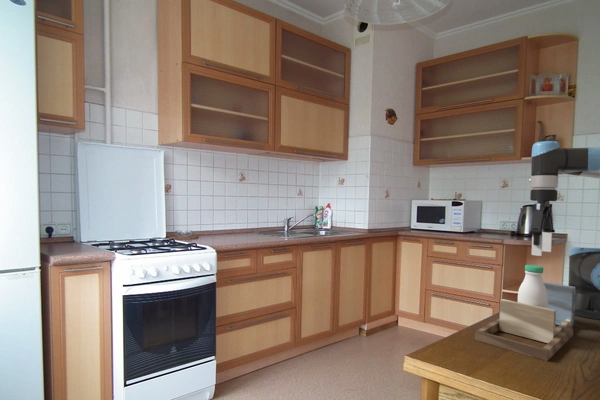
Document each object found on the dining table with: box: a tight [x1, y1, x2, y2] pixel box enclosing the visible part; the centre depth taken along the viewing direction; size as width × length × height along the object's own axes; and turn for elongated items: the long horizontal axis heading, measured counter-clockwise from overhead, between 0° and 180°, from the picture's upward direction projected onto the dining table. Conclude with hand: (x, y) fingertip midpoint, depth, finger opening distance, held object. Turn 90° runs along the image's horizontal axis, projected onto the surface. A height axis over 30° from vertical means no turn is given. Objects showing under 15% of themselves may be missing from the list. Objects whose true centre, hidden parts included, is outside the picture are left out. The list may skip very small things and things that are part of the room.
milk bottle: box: [516, 264, 548, 308], centre depth 111 cm, size 8×8×20 cm
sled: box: [498, 279, 575, 344], centre depth 116 cm, size 24×14×12 cm, turn 133°
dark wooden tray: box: [474, 317, 574, 362], centre depth 108 cm, size 27×17×2 cm, turn 133°
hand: (541, 253), depth 125 cm, fingers open, 13 cm apart
